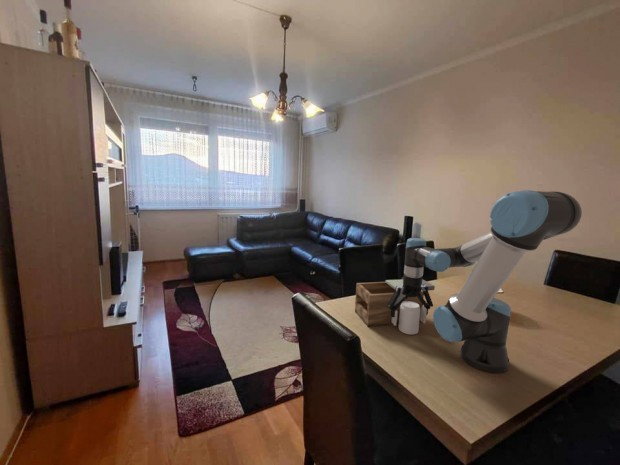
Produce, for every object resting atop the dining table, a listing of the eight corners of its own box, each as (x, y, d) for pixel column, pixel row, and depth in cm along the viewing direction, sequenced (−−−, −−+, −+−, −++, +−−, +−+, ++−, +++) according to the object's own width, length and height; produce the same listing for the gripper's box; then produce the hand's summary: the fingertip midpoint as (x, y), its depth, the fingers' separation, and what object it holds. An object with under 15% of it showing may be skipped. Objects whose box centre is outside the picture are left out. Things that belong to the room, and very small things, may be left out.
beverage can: (420, 336, 121) (423, 308, 119) (401, 335, 121) (403, 308, 120) (414, 326, 129) (416, 301, 127) (396, 326, 129) (398, 300, 127)
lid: (434, 290, 134) (434, 285, 134) (397, 292, 130) (397, 287, 130) (419, 281, 146) (419, 277, 145) (385, 283, 142) (385, 279, 142)
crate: (421, 322, 133) (424, 288, 131) (367, 326, 128) (369, 291, 125) (403, 308, 149) (405, 276, 146) (354, 311, 143) (356, 279, 141)
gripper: (434, 271, 128) (429, 316, 131) (381, 273, 122) (377, 320, 126) (445, 277, 120) (439, 324, 124) (389, 279, 115) (385, 329, 119)
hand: (408, 322), depth 125 cm, fingers open, 13 cm apart
